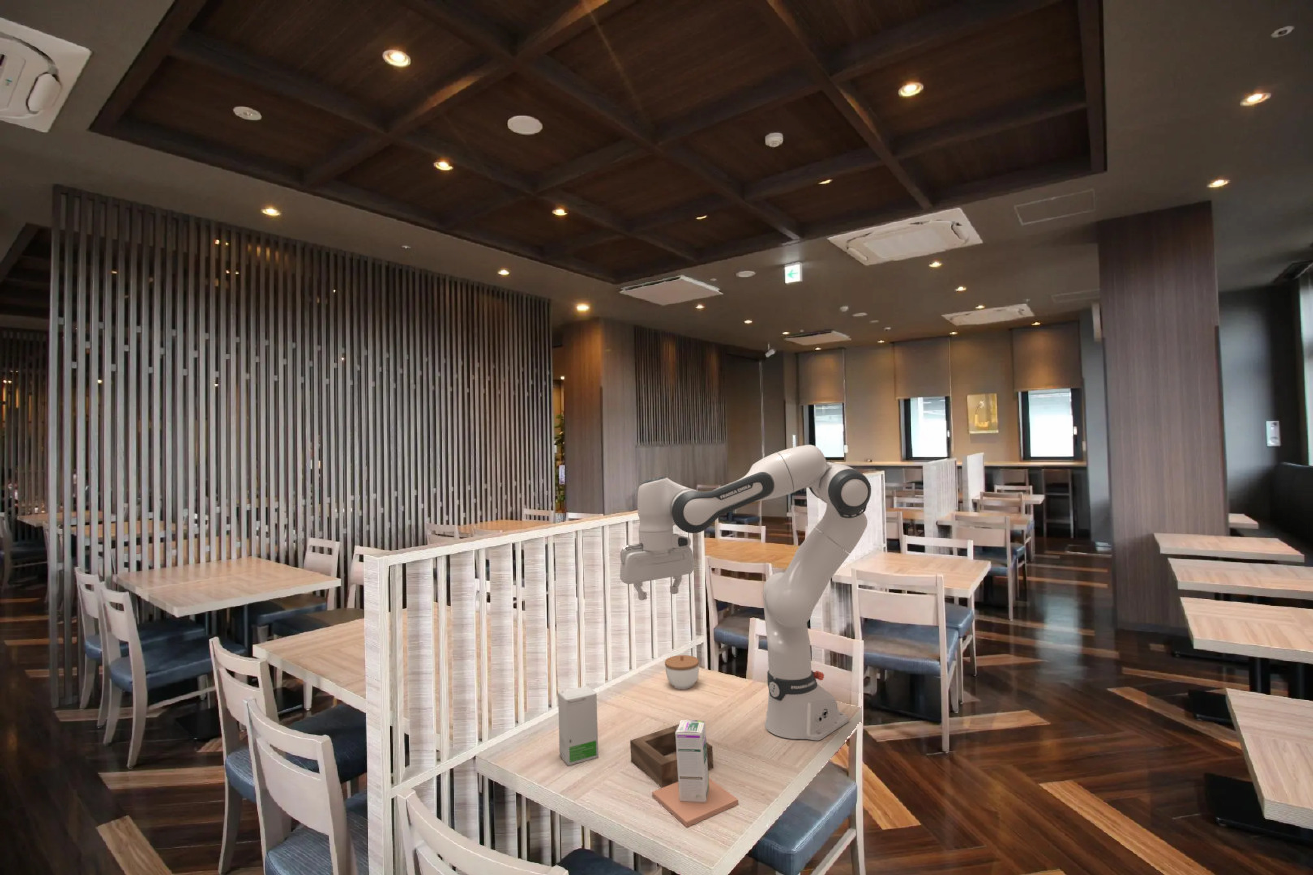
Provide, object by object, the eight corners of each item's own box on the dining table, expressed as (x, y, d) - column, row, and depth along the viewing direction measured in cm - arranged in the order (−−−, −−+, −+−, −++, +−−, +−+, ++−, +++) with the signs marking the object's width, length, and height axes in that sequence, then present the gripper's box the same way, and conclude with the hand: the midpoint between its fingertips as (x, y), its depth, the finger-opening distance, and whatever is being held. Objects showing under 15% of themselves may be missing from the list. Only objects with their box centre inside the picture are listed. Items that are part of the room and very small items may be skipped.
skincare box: (567, 766, 143) (564, 700, 143) (558, 754, 149) (555, 691, 149) (600, 757, 147) (597, 692, 147) (590, 745, 152) (587, 683, 153)
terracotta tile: (701, 776, 136) (701, 772, 136) (738, 804, 125) (738, 799, 125) (652, 796, 129) (652, 791, 129) (686, 827, 118) (686, 821, 118)
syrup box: (706, 803, 124) (703, 732, 124) (678, 801, 125) (674, 730, 125) (709, 788, 129) (706, 719, 130) (682, 786, 130) (679, 718, 131)
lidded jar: (663, 691, 185) (662, 661, 185) (668, 678, 195) (667, 649, 196) (698, 692, 183) (696, 661, 183) (701, 679, 194) (700, 649, 194)
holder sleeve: (679, 744, 151) (678, 724, 151) (713, 767, 139) (712, 745, 139) (631, 761, 144) (630, 740, 144) (662, 787, 132) (661, 764, 132)
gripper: (626, 547, 144) (628, 605, 144) (696, 538, 155) (698, 592, 155) (614, 544, 150) (616, 600, 149) (682, 535, 161) (684, 588, 160)
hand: (658, 596), depth 152 cm, fingers open, 8 cm apart
